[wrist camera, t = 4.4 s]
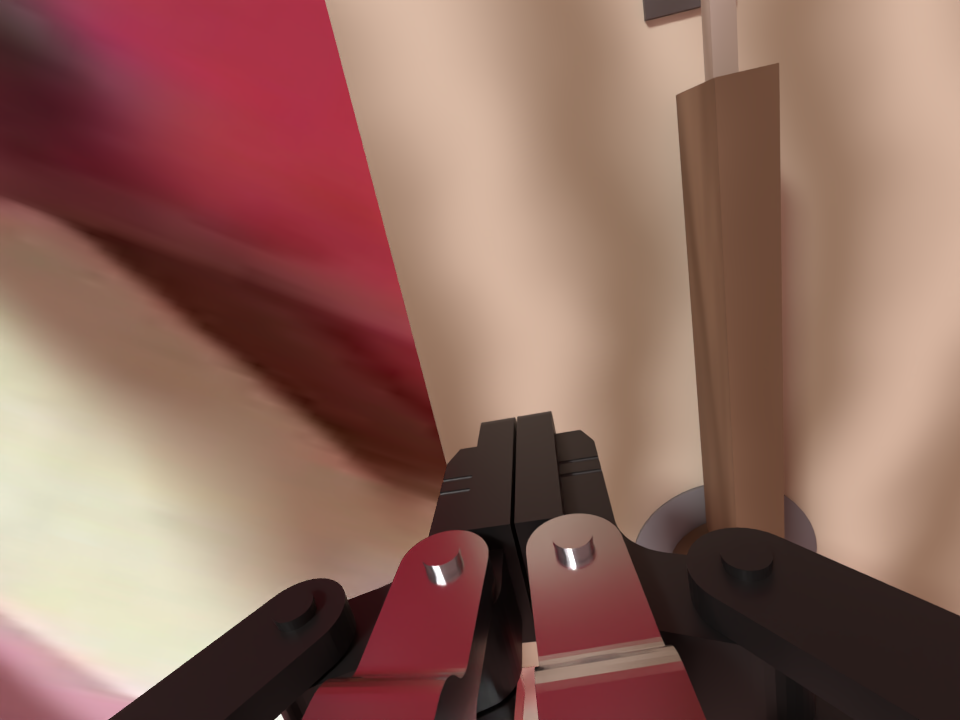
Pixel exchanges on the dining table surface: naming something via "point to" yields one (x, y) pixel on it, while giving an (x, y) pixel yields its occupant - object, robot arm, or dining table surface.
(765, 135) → the dial lever
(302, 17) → the dining table surface
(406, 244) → the dial board
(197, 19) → the dining table surface
